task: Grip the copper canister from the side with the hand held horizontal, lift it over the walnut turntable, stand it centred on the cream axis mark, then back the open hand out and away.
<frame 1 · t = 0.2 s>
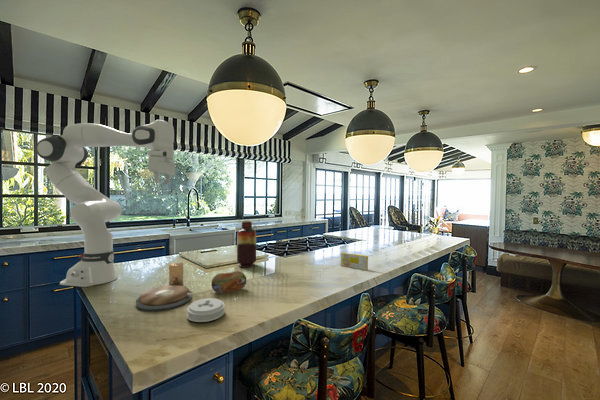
hand: (162, 183, 132), 47 cm above the countertop, tool pointing down, fingers open, 8 cm apart
candy box: (353, 268, 160), on the countertop
tin: (228, 291, 122), on the countertop
lid: (206, 316, 98), on the countertop
brown bottle: (246, 265, 163), on the countertop
canister: (176, 285, 128), on the countertop
turntable base: (164, 300, 111), on the countertop
turntable: (166, 294, 111), point 2 cm above the countertop, hinge at 0.0°
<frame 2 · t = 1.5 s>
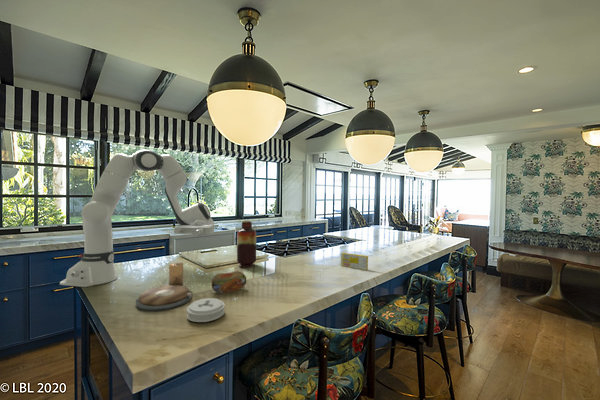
hand: (188, 232, 141), 23 cm above the countertop, tool horizontal, fingers open, 8 cm apart
nothing on the countertop moved.
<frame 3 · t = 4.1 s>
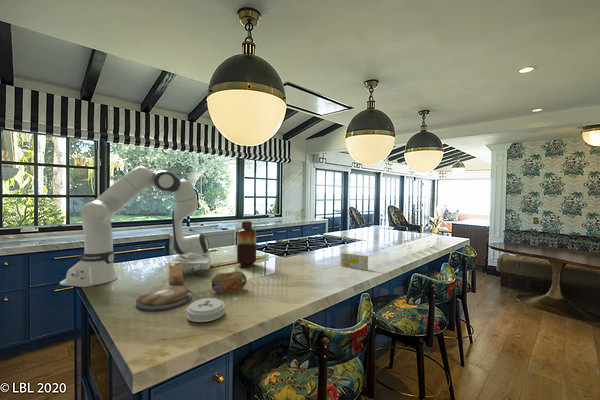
hand: (183, 268, 137), 5 cm above the countertop, tool horizontal, fingers open, 8 cm apart
nothing on the countertop moved.
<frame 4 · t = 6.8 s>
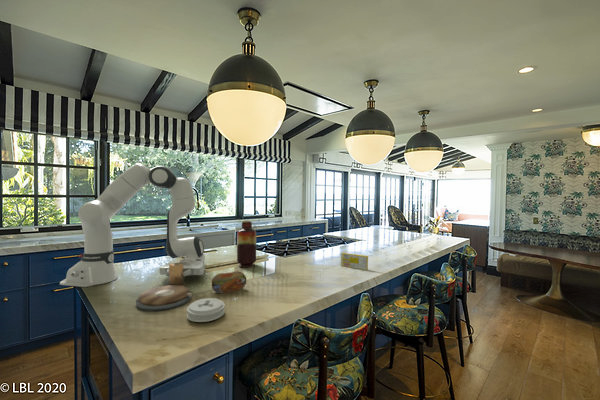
hand: (175, 274, 127), 6 cm above the countertop, tool horizontal, fingers closed on canister, 6 cm apart
canister: (176, 285, 128), on the countertop, touching gripper
everything else where it was.
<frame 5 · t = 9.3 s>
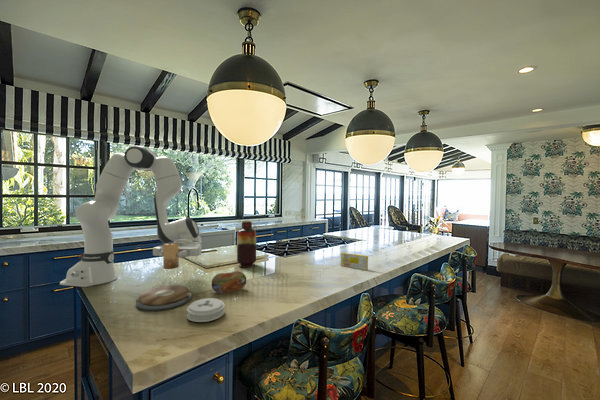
hand: (170, 254, 117), 17 cm above the countertop, tool horizontal, fingers closed on canister, 6 cm apart
canister: (171, 267, 119), point 11 cm above the countertop, touching gripper
everything else where it was.
when the fingers open (10 cm above the countertop, at t = 12.0 s): canister drops 1 cm, resting on turntable.
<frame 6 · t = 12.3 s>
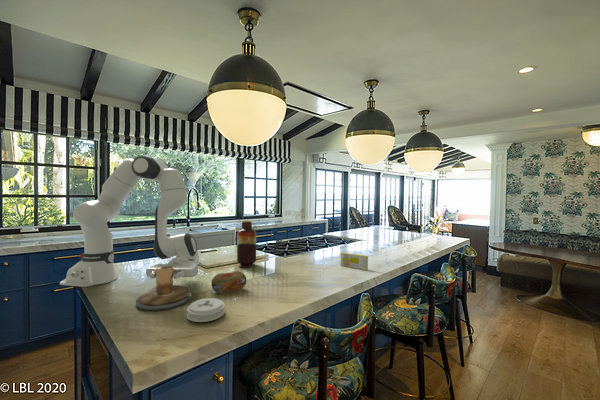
hand: (163, 276, 110), 10 cm above the countertop, tool horizontal, fingers open, 8 cm apart
canister: (164, 292, 111), point 3 cm above the countertop, touching turntable
turntable: (166, 294, 111), point 2 cm above the countertop, hinge at 0.0°, touching canister
everything else where it was.
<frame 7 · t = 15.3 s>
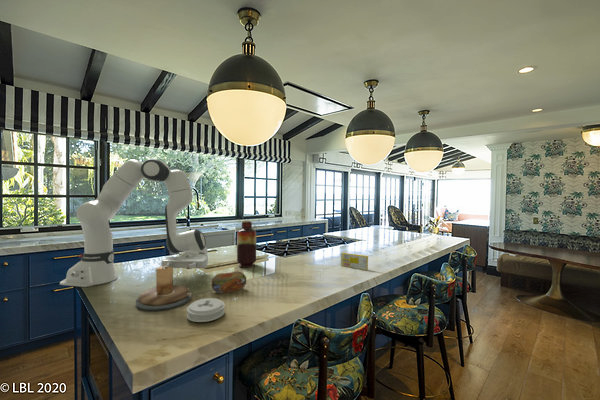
hand: (177, 267, 123), 10 cm above the countertop, tool horizontal, fingers open, 8 cm apart
nothing on the countertop moved.
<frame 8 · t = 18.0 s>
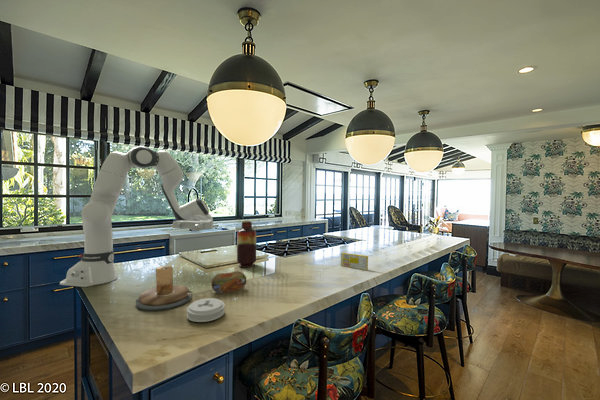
hand: (187, 226, 140), 26 cm above the countertop, tool horizontal, fingers open, 8 cm apart
nothing on the countertop moved.
at the end: canister 0.1 cm from the turntable (horizontally); canister tilted 1°; canister touching turntable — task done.
